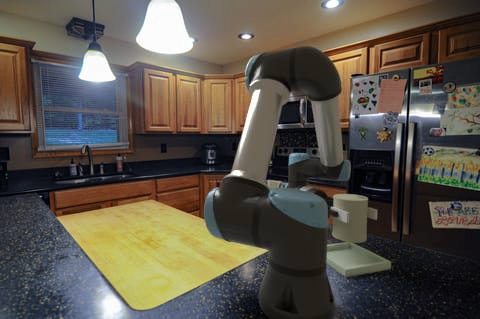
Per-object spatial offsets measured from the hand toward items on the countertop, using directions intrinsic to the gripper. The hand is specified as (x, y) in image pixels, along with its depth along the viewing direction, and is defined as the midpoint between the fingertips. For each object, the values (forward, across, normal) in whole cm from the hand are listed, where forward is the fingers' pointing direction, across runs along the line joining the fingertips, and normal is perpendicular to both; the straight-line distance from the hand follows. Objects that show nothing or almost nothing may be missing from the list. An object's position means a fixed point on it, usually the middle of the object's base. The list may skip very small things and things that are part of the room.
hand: (362, 216), depth 69 cm
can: (-5, 0, -7) cm, 9 cm away
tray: (-4, 0, -14) cm, 15 cm away
